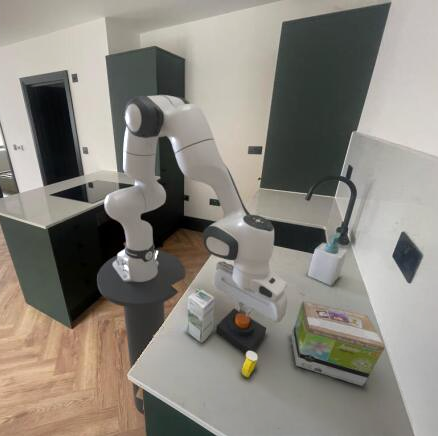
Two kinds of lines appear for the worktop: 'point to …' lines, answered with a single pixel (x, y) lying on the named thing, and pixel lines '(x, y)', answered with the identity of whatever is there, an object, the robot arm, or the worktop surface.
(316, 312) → the tea box
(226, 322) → the button base
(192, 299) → the syrup box
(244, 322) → the orange button cap
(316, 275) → the soap bottle
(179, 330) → the worktop surface
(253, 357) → the yellow chunky piece
